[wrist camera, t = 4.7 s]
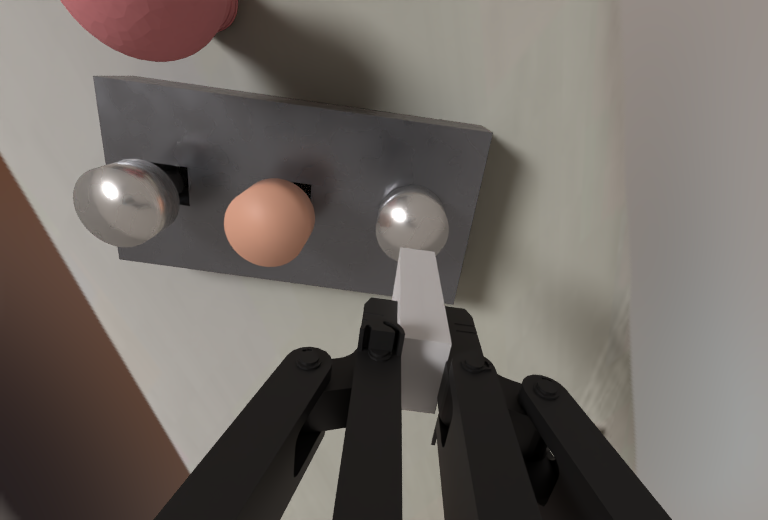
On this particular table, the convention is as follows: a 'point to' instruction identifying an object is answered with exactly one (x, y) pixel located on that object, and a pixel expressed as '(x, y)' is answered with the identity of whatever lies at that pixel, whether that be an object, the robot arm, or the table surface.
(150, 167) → the knob
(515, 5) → the table surface
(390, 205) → the knob
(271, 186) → the knob
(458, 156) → the mount plate
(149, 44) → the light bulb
